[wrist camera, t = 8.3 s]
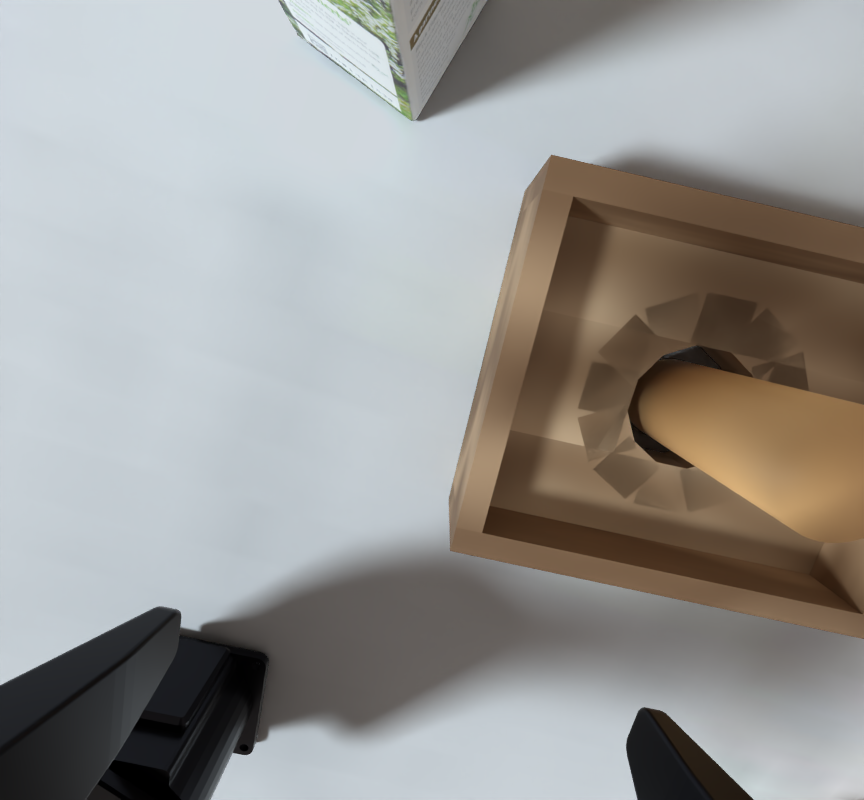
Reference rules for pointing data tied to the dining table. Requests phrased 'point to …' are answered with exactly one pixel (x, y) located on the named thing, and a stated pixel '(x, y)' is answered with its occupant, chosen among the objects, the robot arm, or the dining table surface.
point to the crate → (617, 377)
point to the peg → (762, 443)
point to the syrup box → (388, 41)
